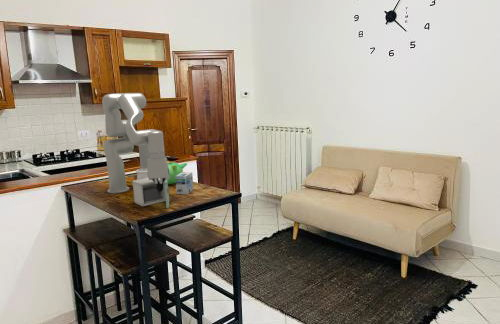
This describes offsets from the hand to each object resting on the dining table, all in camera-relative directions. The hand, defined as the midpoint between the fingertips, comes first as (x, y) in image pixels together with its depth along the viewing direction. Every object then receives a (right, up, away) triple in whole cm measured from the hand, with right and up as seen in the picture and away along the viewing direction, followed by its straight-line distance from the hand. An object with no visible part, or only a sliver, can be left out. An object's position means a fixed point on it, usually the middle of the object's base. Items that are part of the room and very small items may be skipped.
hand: (160, 190), depth 191 cm
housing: (-8, -7, +11) cm, 15 cm away
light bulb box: (+8, -3, +28) cm, 29 cm away
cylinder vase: (-21, +3, +64) cm, 68 cm away
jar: (-13, -4, +25) cm, 28 cm away
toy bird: (-4, +1, +49) cm, 49 cm away
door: (+3, -7, +5) cm, 9 cm away
